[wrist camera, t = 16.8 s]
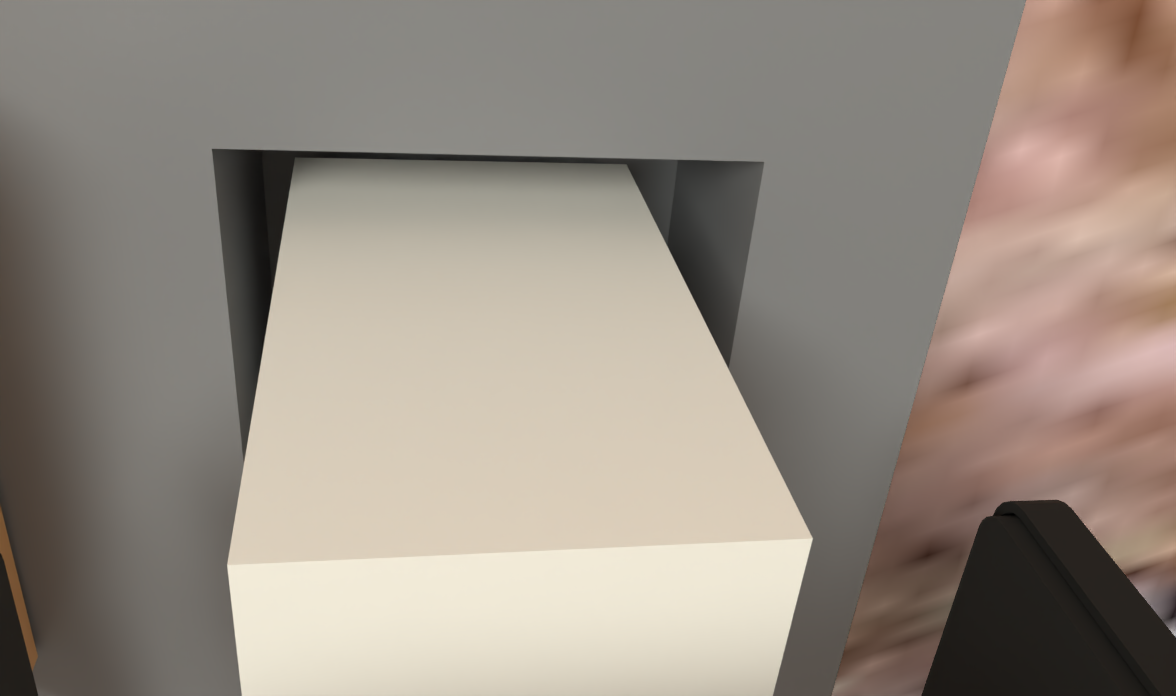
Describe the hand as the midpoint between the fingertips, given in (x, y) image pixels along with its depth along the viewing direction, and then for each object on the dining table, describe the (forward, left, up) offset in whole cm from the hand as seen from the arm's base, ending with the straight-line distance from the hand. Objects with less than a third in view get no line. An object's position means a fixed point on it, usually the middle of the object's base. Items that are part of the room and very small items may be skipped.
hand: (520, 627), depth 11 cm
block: (0, 0, -8) cm, 8 cm away
